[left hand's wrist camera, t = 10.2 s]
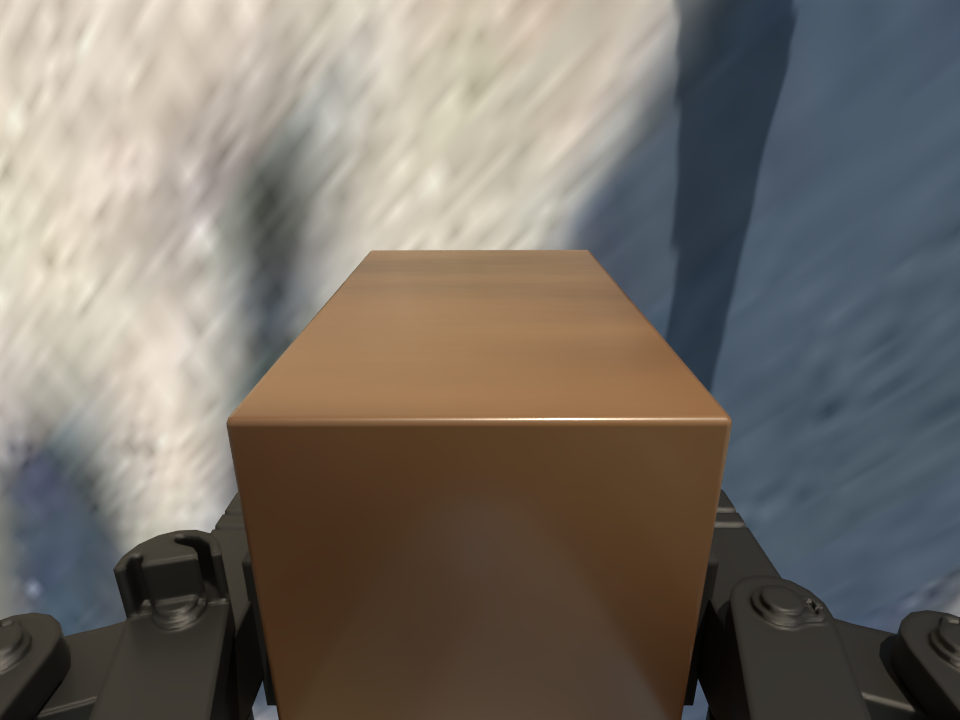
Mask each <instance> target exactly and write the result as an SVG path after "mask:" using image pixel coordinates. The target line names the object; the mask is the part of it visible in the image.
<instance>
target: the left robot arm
mask: <svg viewBox="0 0 960 720" xmlns="http://www.w3.org/2000/svg"><path fill="white" fill-rule="evenodd" d="M113 570H114V573H115V577H116V581H117V584H118V588H119V591H120V595H121V599H122V602H123V606H124V609H125V613H126V616H127V619H126V621H124V622H121V623H117V624H114V625H111V626H107V627H103V628H99V629H94V630H90V631H86V632H81V633H77V634H73V635H69V636H64V634H63V632H62V629H61V626H60V623H59V622H58V621H57V620H56V619H54V618H53V617H52V616H51V615H46V614H40V613H29V614H22V615H15V616H11V617H8V618H5V619H3V620H0V720H254V716H253V711H252V706H253V704H254V701H255V698H256V696H257V693H258V691H259V688H260V686H261V683H262V681H263V684H264V689H265V695H266V700H267V705H276V701H275V695H274V689H273V684H272V678H271V672H270V667H269V661H268V656H267V650H266V644H265V639H264V633H263V627H262V622H261V616H260V610H259V605H258V599H257V594H256V588H255V582H254V577H253V571H252V565H251V560H250V554H249V548H248V543H247V537H246V531H245V526H244V520H243V515H242V509H241V503H240V498H239V492H238V493H237V494H236V495H235V497H234V498H233V500H232V501H231V503H230V504H229V506H228V507H227V509H226V510H225V515H222V516H221V518H220V519H219V521H218V523H217V524H216V526H215V530H212V532H211V533H206V532H203V531H199V530H180V531H174V532H170V533H166V534H162V535H158V536H156V537H154V538H152V539H149V540H147V541H145V542H143V543H141V544H139V545H137V546H136V547H135V548H133V549H132V550H131V551H129V552H128V553H127V554H125V555H124V556H123V557H122V558H121V560H120V561H119V562H118V564H117V565H116V566H115V568H114V569H113ZM698 679H699V682H700V684H701V687H702V689H703V692H704V694H705V697H706V700H707V702H708V705H709V706H708V711H707V716H706V720H960V617H957V616H954V615H952V614H949V613H943V612H936V611H928V610H925V611H919V612H913V613H910V614H909V615H908V616H906V617H905V618H904V619H903V620H902V621H901V624H900V627H899V630H898V633H897V634H894V633H889V632H885V631H881V630H877V629H872V628H868V627H864V626H859V625H855V624H851V623H848V622H844V621H841V620H838V619H835V618H833V616H832V614H831V613H830V611H829V610H828V608H827V607H826V605H825V604H824V603H823V602H822V601H821V600H820V599H819V598H818V597H816V596H815V595H814V594H813V593H812V592H810V591H809V590H807V589H805V588H803V587H801V586H800V585H798V584H796V583H794V582H792V581H789V580H785V579H782V578H781V577H780V575H779V574H778V572H777V571H776V569H775V568H774V566H773V565H772V563H771V562H770V560H769V559H768V557H767V556H766V554H765V553H764V551H763V549H762V548H761V546H760V545H759V543H758V542H757V540H756V539H755V537H754V536H753V534H752V533H751V531H750V530H749V528H746V526H745V522H744V521H743V519H742V518H741V516H740V515H739V513H736V509H735V507H734V506H733V504H732V503H731V501H730V500H729V498H728V497H727V495H726V494H725V492H724V491H723V490H720V496H719V502H718V508H717V513H716V519H715V525H714V531H713V537H712V543H711V548H710V554H709V560H708V566H707V572H706V578H705V583H704V589H703V595H702V601H701V607H700V613H699V618H698V624H697V630H696V636H695V642H694V648H693V653H692V659H691V665H690V671H689V677H688V682H687V688H686V694H685V700H684V705H693V703H694V697H695V692H696V686H697V681H698Z"/></svg>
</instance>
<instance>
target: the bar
mask: <svg viewBox="0 0 960 720" xmlns="http://www.w3.org/2000/svg"><path fill="white" fill-rule="evenodd" d="M731 426H732V422H731V418H730V416H729V415H728V414H727V413H726V411H725V410H724V409H723V408H722V407H721V406H720V404H719V403H718V402H717V401H716V400H715V398H714V397H713V396H712V395H711V394H710V393H709V391H708V390H707V389H706V388H705V387H704V386H703V384H702V383H701V382H700V381H699V380H698V378H697V377H696V376H695V375H694V374H693V373H692V371H691V370H690V369H689V368H688V367H687V366H686V364H685V363H684V362H683V361H682V360H681V358H680V357H679V356H678V355H677V354H676V353H675V351H674V350H673V349H672V348H671V347H670V345H669V344H668V343H667V342H666V341H665V340H664V338H663V337H662V336H661V335H660V334H659V333H658V331H657V330H656V329H655V328H654V327H653V325H652V324H651V323H650V322H649V321H648V320H647V318H646V317H645V316H644V315H643V314H642V313H641V311H640V310H639V309H638V308H637V307H636V305H635V304H634V303H633V302H632V301H631V300H630V298H629V297H628V296H627V295H626V294H625V292H624V291H623V290H622V289H621V288H620V287H619V285H618V284H617V283H616V282H615V281H614V280H613V278H612V277H611V276H610V275H609V274H608V272H607V271H606V270H605V269H604V268H603V267H602V265H601V264H600V263H599V262H598V261H597V260H596V258H595V257H594V256H593V255H592V254H591V252H590V251H588V250H408V251H371V252H370V253H369V254H368V255H367V256H366V257H365V258H364V260H363V261H362V262H361V263H360V264H359V265H358V267H357V268H356V269H355V270H354V271H353V272H352V274H351V275H350V276H349V277H348V278H347V279H346V281H345V282H344V283H343V284H342V285H341V286H340V288H339V289H338V290H337V291H336V292H335V293H334V295H333V296H332V297H331V298H330V299H329V300H328V302H327V303H326V304H325V305H324V306H323V308H322V309H321V310H320V311H319V312H318V313H317V315H316V316H315V317H314V318H313V319H312V320H311V322H310V323H309V324H308V325H307V326H306V327H305V329H304V330H303V331H302V332H301V333H300V334H299V336H298V337H297V338H296V339H295V340H294V341H293V343H292V344H291V345H290V346H289V347H288V348H287V350H286V351H285V352H284V353H283V354H282V355H281V357H280V358H279V359H278V360H277V361H276V362H275V364H274V365H273V366H272V367H271V368H270V369H269V371H268V372H267V373H266V374H265V375H264V376H263V378H262V379H261V380H260V381H259V382H258V383H257V385H256V386H255V387H254V388H253V389H252V391H251V392H250V393H249V394H248V395H247V396H246V398H245V399H244V400H243V401H242V402H241V403H240V405H239V406H238V407H237V408H236V409H235V410H234V412H233V413H232V414H231V415H230V416H229V417H228V420H227V430H228V436H229V441H230V447H231V453H232V458H233V464H234V469H235V475H236V481H237V486H238V492H239V498H240V503H241V509H242V515H243V520H244V526H245V531H246V537H247V543H248V548H249V554H250V560H251V565H252V571H253V577H254V582H255V588H256V594H257V599H258V605H259V610H260V616H261V622H262V627H263V633H264V639H265V644H266V650H267V656H268V661H269V667H270V672H271V678H272V684H273V689H274V695H275V701H276V706H277V712H278V718H279V720H681V717H682V712H683V706H684V700H685V694H686V688H687V682H688V677H689V671H690V665H691V659H692V653H693V648H694V642H695V636H696V630H697V624H698V618H699V613H700V607H701V601H702V595H703V589H704V583H705V578H706V572H707V566H708V560H709V554H710V548H711V543H712V537H713V531H714V525H715V519H716V513H717V508H718V502H719V496H720V490H721V484H722V479H723V473H724V467H725V461H726V455H727V449H728V444H729V438H730V432H731Z"/></svg>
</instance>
